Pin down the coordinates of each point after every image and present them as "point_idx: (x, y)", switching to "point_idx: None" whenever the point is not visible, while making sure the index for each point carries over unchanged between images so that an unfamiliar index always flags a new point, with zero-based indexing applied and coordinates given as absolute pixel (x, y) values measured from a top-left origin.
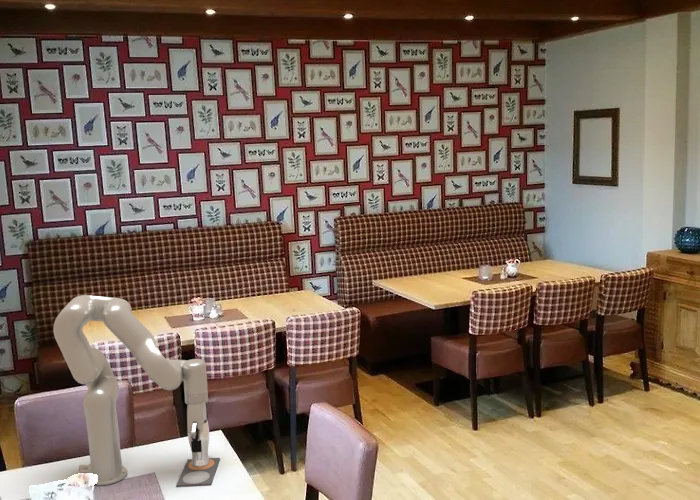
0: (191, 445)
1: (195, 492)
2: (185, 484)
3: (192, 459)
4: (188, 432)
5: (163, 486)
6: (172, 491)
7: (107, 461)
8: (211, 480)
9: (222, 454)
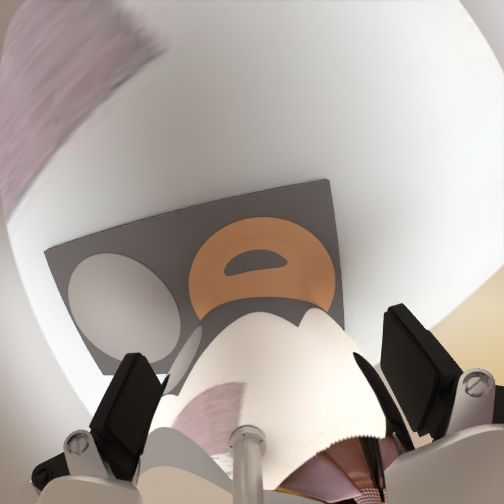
0: (106, 392)
1: (51, 332)
2: (60, 288)
3: (223, 272)
4: (46, 488)
5: (40, 189)
6: (25, 249)
7: None
8: None
9: None
